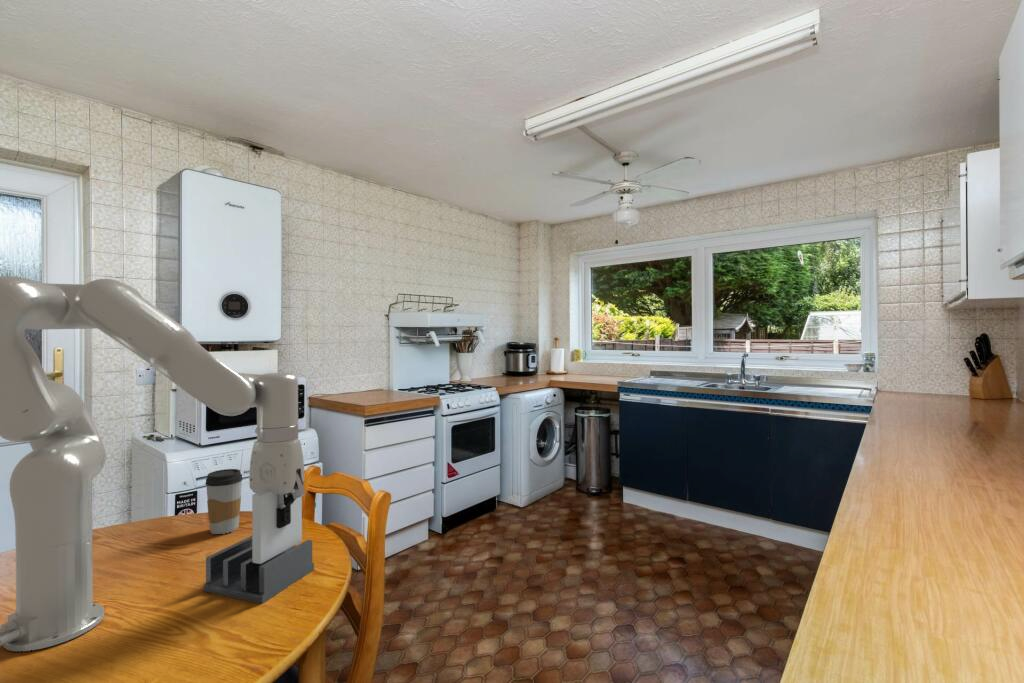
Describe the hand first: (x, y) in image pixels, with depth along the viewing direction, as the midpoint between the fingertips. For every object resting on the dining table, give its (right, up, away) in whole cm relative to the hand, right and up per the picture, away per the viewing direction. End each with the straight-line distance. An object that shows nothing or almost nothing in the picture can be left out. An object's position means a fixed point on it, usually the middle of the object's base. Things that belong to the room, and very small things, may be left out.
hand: (278, 524), depth 98 cm
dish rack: (-4, -12, +1) cm, 13 cm away
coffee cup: (-27, -12, +28) cm, 41 cm away
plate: (0, -5, 0) cm, 5 cm away
